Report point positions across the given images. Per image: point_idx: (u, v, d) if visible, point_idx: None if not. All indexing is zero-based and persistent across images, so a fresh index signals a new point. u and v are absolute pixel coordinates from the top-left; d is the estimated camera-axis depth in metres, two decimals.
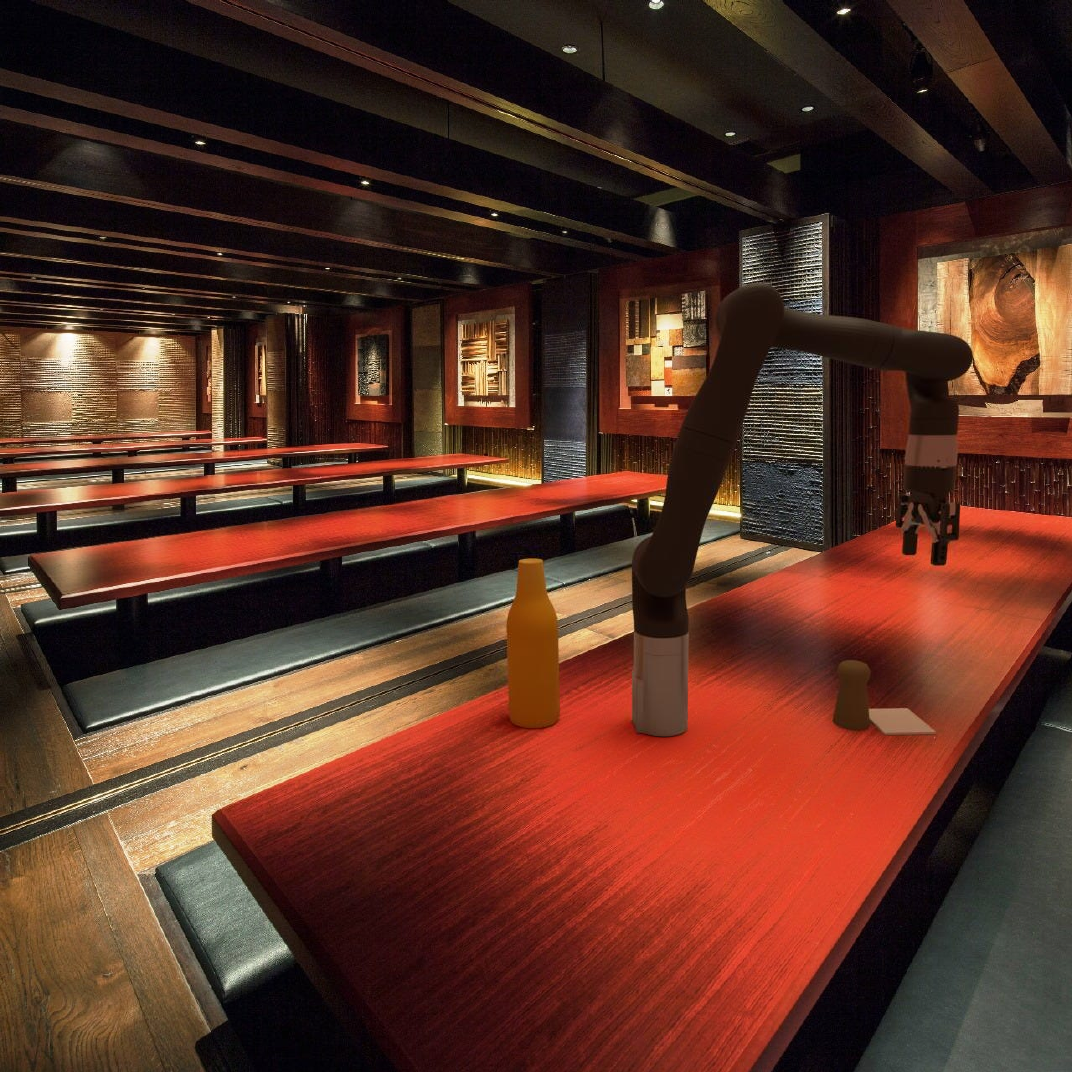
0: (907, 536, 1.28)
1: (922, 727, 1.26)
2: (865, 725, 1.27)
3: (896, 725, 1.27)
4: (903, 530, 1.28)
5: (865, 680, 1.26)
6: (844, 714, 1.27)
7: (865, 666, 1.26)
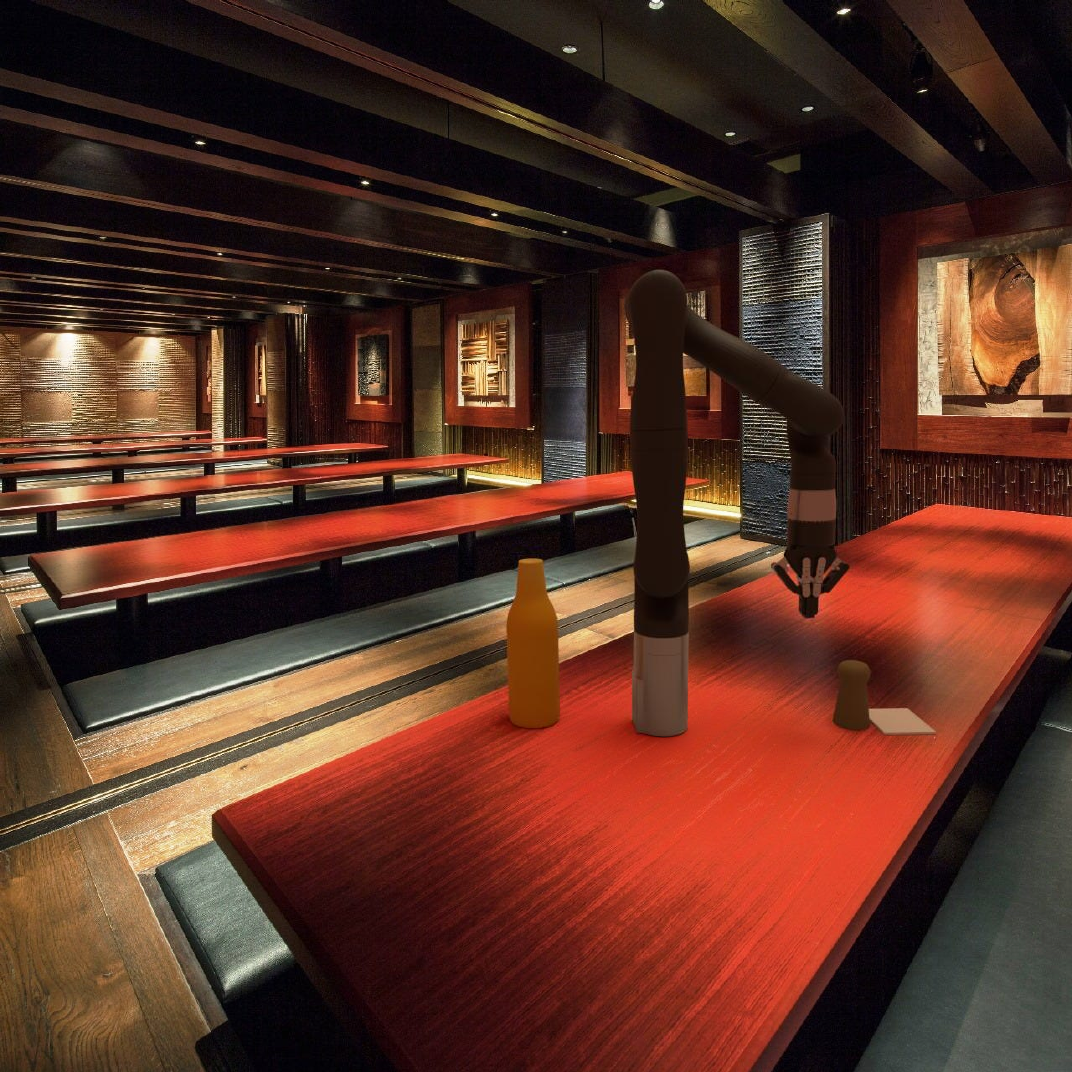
0: None
1: (922, 727, 1.26)
2: (865, 725, 1.27)
3: (896, 725, 1.27)
4: (808, 594, 1.25)
5: (865, 680, 1.26)
6: (844, 714, 1.27)
7: (865, 666, 1.26)
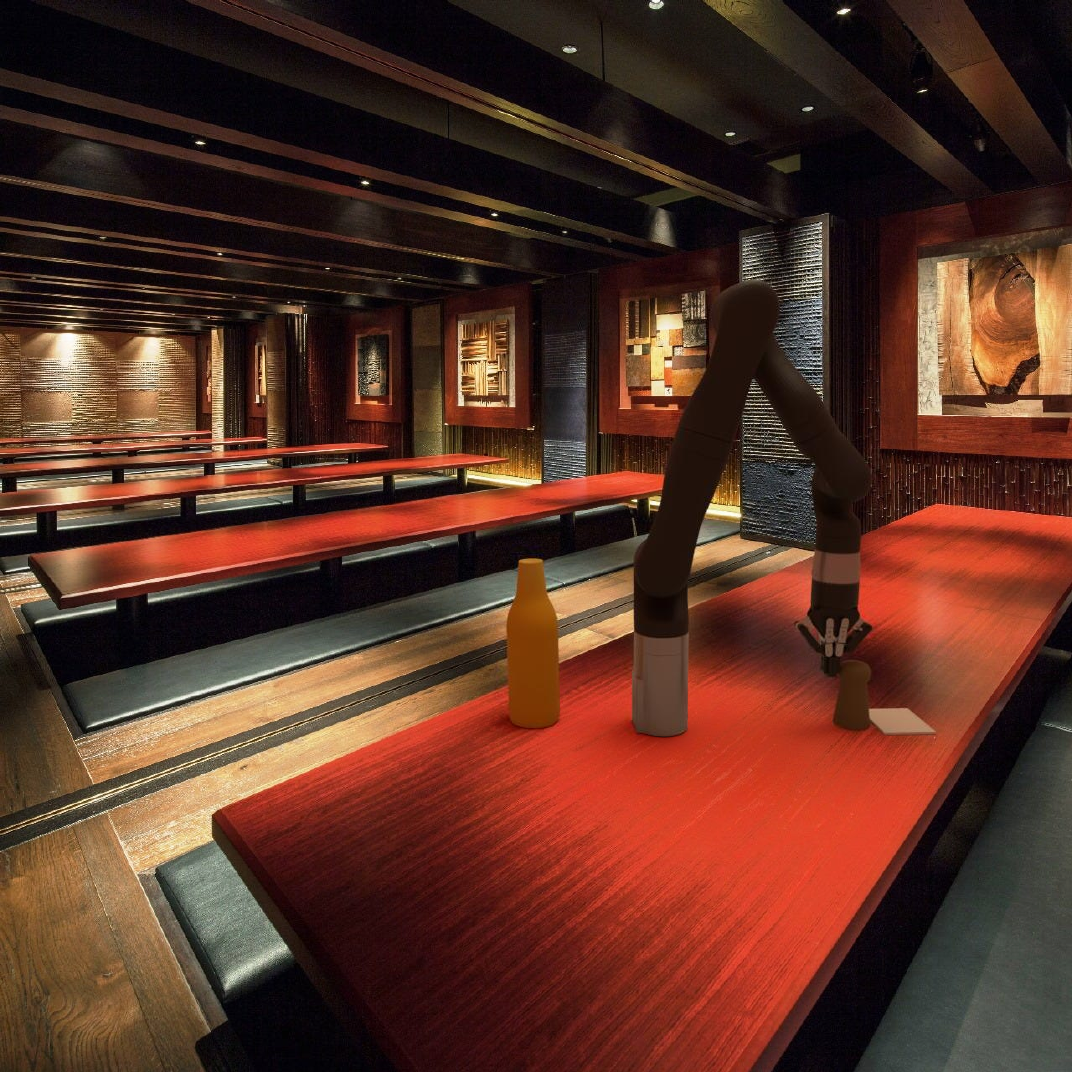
0: None
1: (922, 727, 1.26)
2: (865, 725, 1.27)
3: (896, 725, 1.27)
4: (830, 653, 1.26)
5: (866, 680, 1.26)
6: (844, 714, 1.27)
7: (866, 666, 1.26)
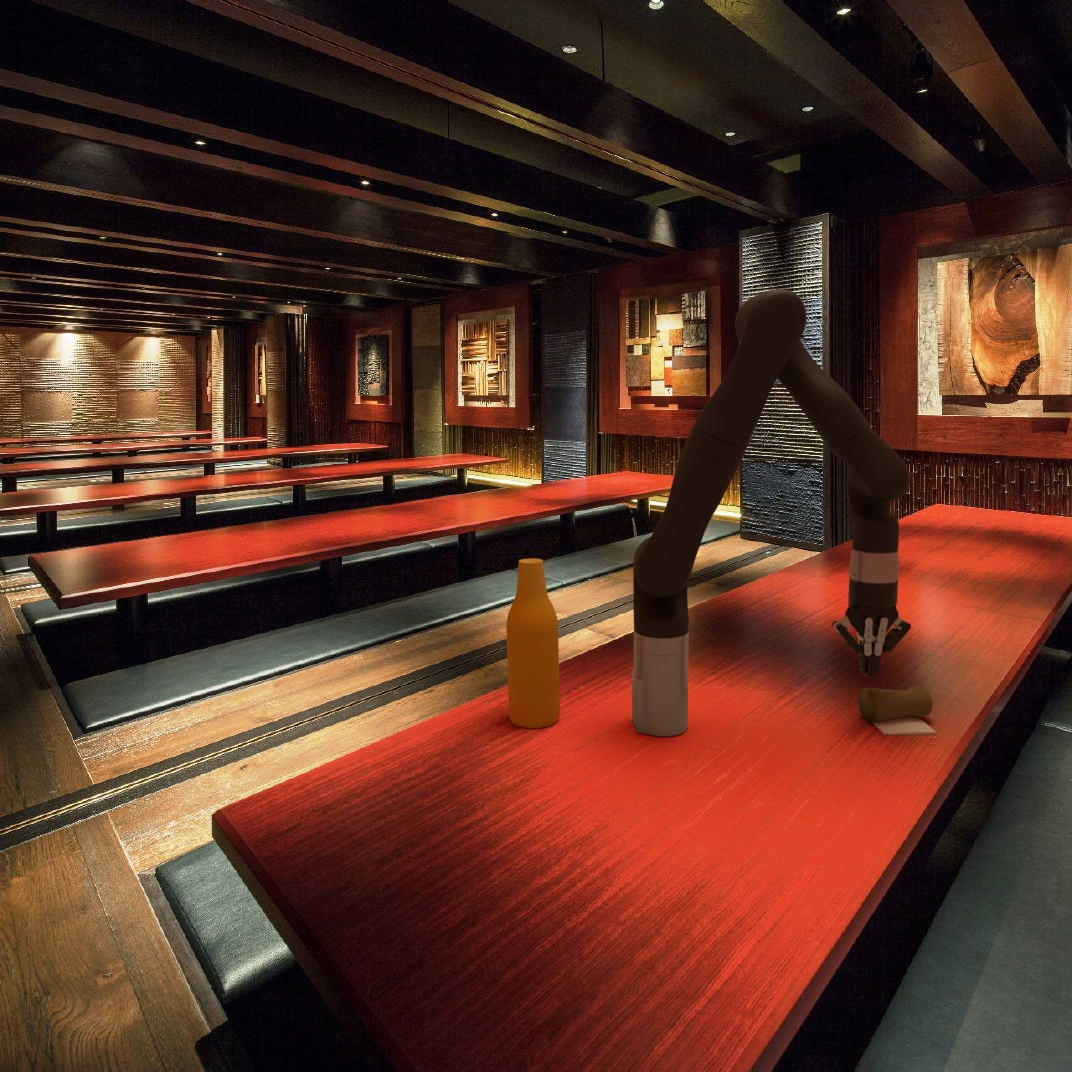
0: None
1: (922, 727, 1.26)
2: (879, 717, 1.27)
3: (896, 725, 1.27)
4: (870, 653, 1.26)
5: (921, 712, 1.28)
6: (885, 695, 1.28)
7: None
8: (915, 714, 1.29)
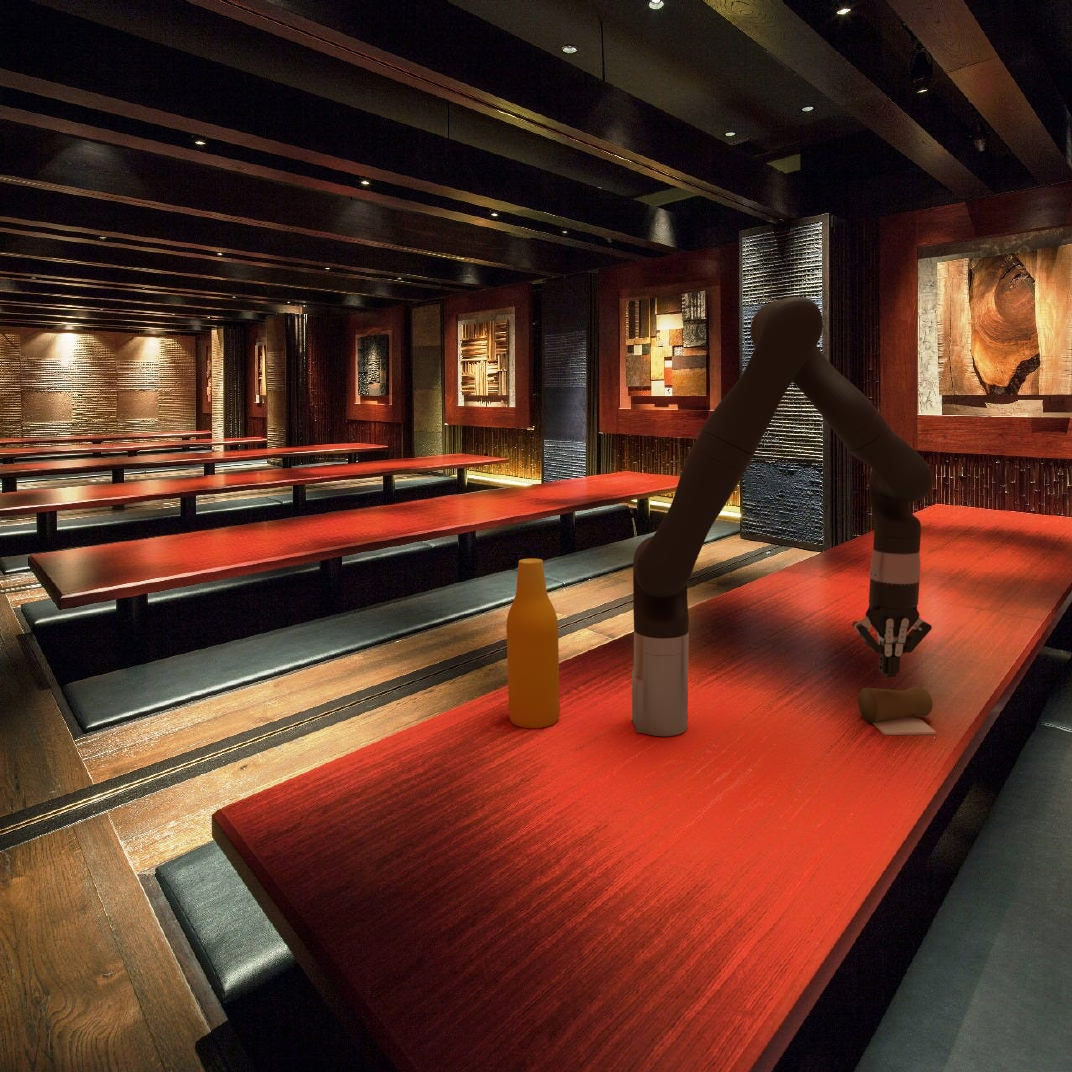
0: None
1: (922, 727, 1.26)
2: (879, 717, 1.27)
3: (896, 725, 1.27)
4: (890, 654, 1.26)
5: (921, 712, 1.28)
6: (886, 695, 1.28)
7: None
8: (915, 714, 1.29)
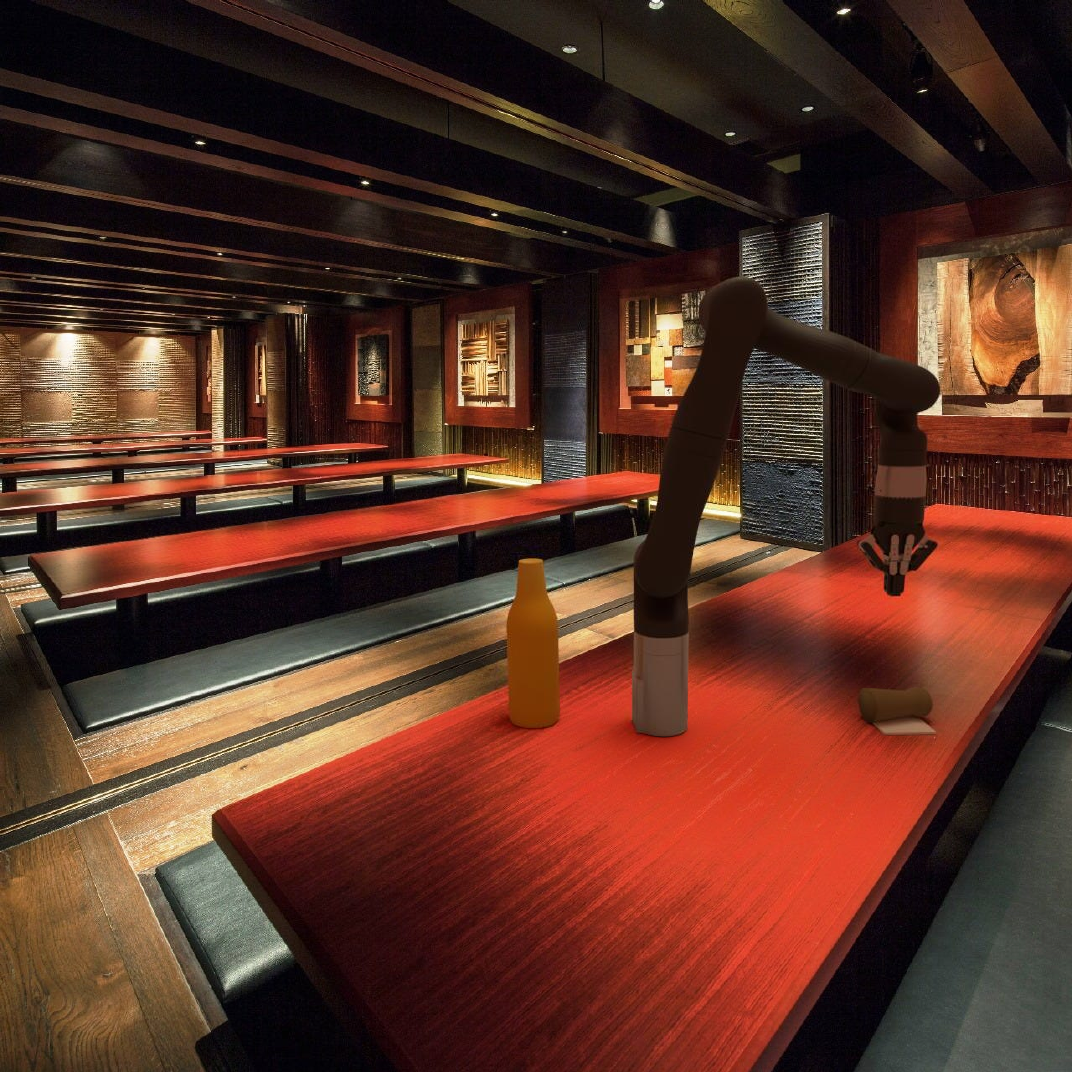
0: None
1: (922, 727, 1.26)
2: (879, 717, 1.27)
3: (896, 725, 1.27)
4: (895, 572, 1.24)
5: (921, 712, 1.28)
6: (886, 695, 1.28)
7: None
8: (915, 714, 1.29)
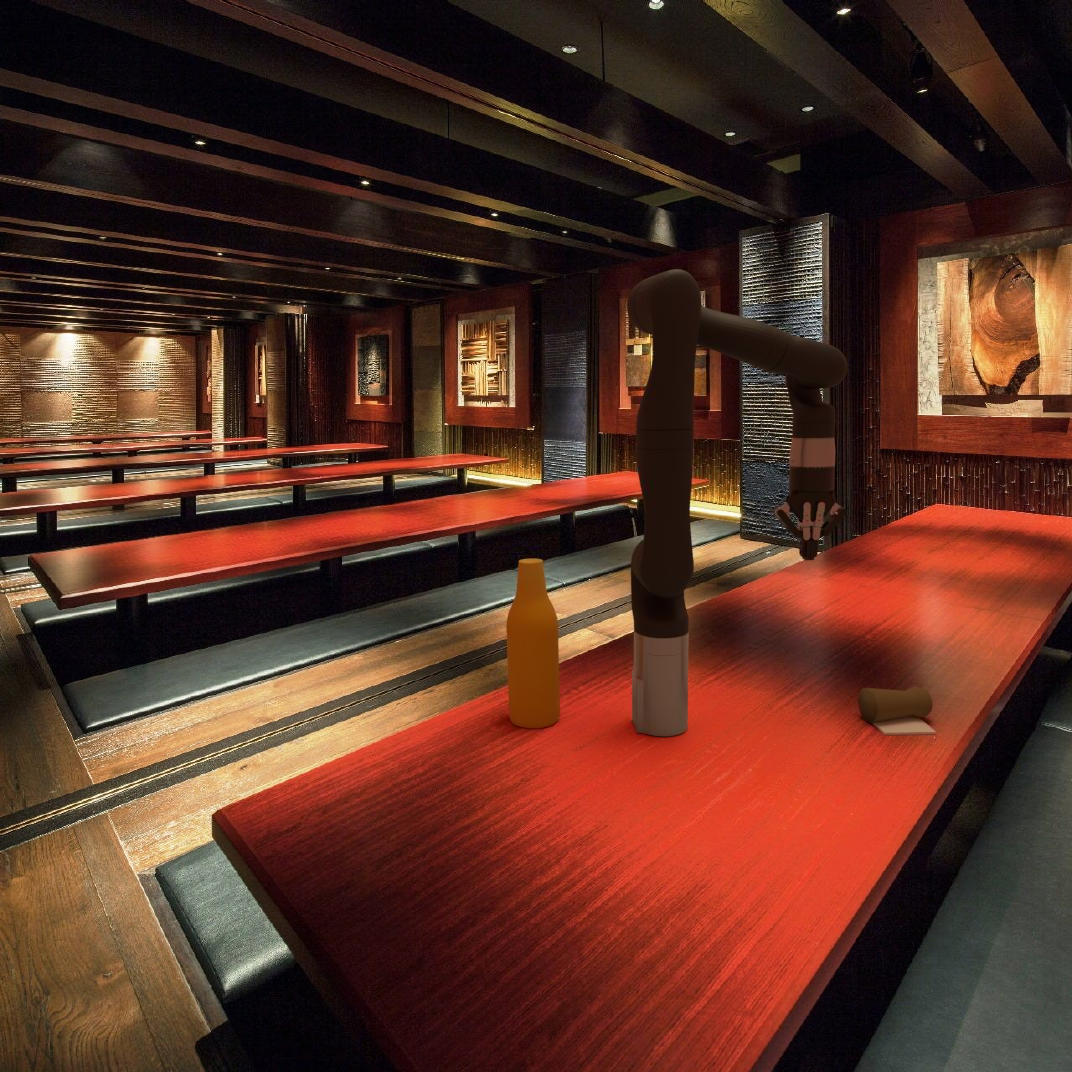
0: None
1: (922, 727, 1.26)
2: (879, 717, 1.27)
3: (896, 725, 1.27)
4: (808, 537, 1.33)
5: (921, 712, 1.28)
6: (886, 695, 1.28)
7: None
8: (915, 714, 1.29)
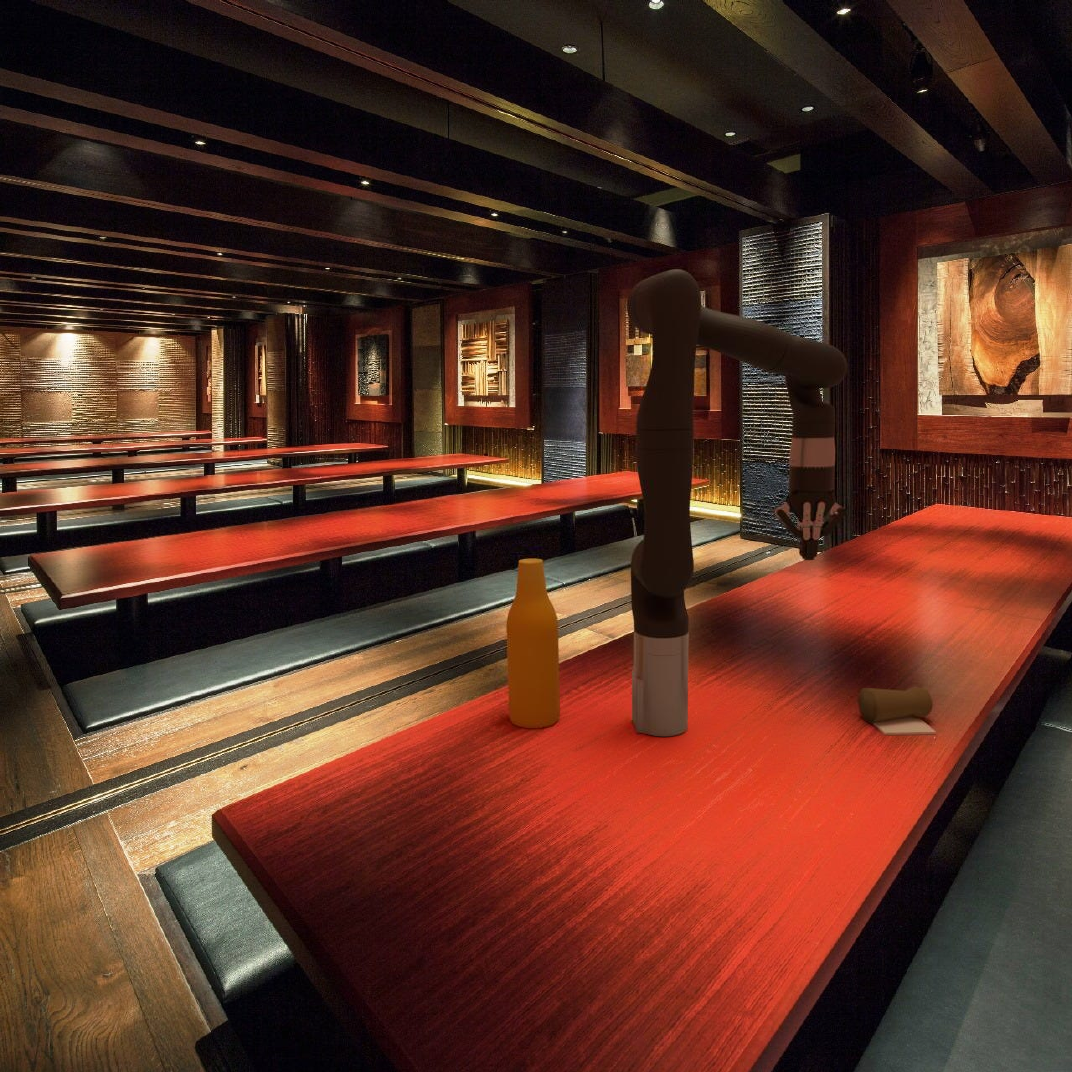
0: None
1: (922, 727, 1.26)
2: (879, 717, 1.27)
3: (896, 725, 1.27)
4: (808, 537, 1.33)
5: (921, 712, 1.28)
6: (886, 695, 1.28)
7: None
8: (915, 714, 1.29)
